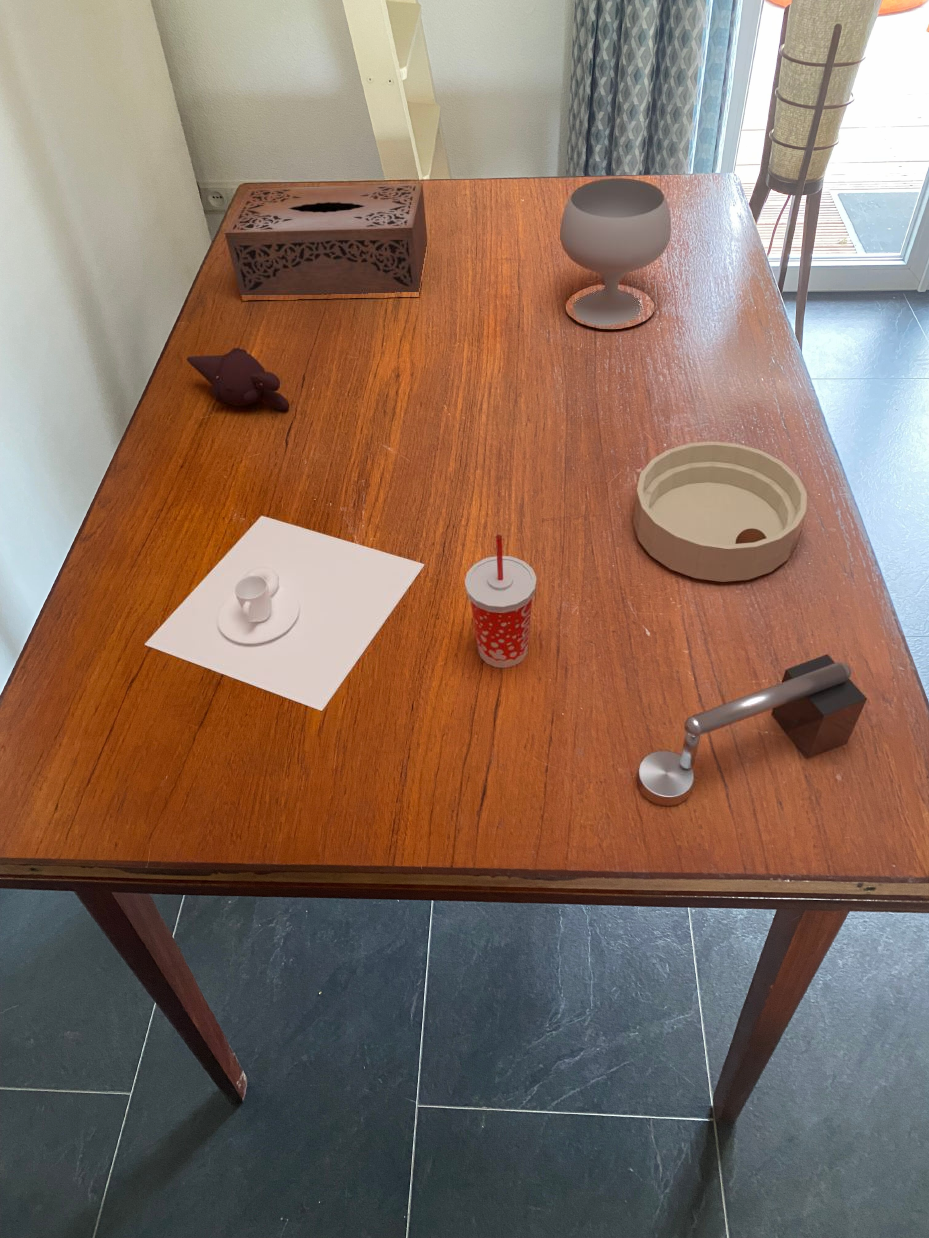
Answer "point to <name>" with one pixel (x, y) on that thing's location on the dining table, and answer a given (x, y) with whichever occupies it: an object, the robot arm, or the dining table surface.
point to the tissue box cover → (329, 239)
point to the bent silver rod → (673, 775)
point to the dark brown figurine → (239, 379)
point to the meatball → (750, 536)
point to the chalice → (614, 241)
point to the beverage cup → (501, 607)
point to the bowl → (718, 510)
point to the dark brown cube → (820, 712)
